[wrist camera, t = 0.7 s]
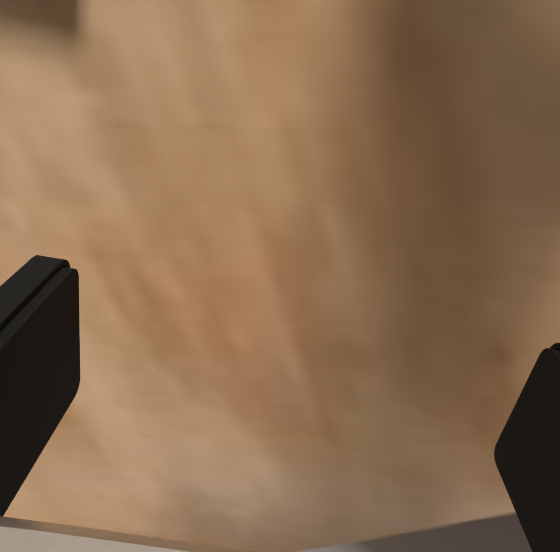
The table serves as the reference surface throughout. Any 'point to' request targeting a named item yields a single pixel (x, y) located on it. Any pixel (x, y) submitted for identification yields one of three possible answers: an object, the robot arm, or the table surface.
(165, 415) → the table surface
